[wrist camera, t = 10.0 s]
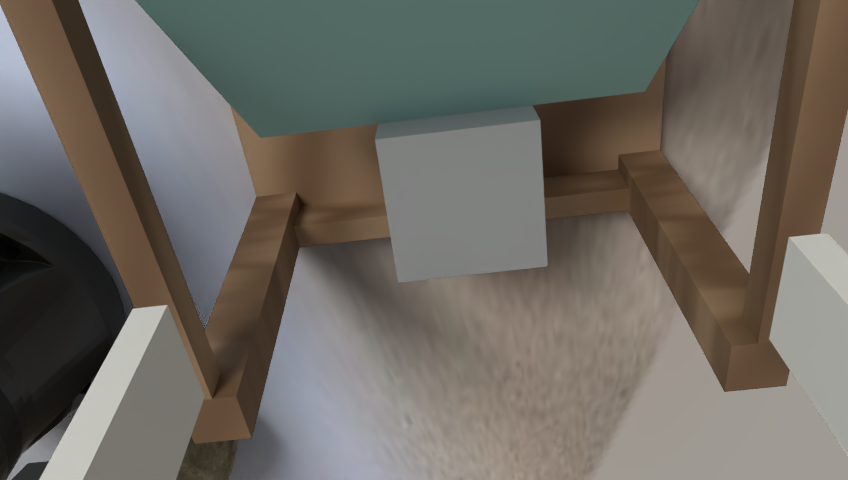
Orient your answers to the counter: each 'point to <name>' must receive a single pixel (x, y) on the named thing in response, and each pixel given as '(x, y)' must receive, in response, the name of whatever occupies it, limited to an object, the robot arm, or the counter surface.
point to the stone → (208, 460)
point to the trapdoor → (415, 55)
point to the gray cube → (464, 193)
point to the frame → (367, 218)
